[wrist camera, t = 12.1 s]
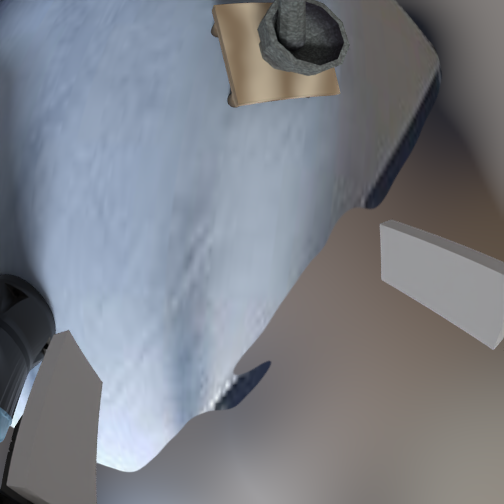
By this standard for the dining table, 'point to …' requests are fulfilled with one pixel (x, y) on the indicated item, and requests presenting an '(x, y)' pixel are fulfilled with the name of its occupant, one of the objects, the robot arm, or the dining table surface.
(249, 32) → the oak footstool
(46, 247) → the dining table surface
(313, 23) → the mortar and pestle
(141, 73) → the dining table surface
